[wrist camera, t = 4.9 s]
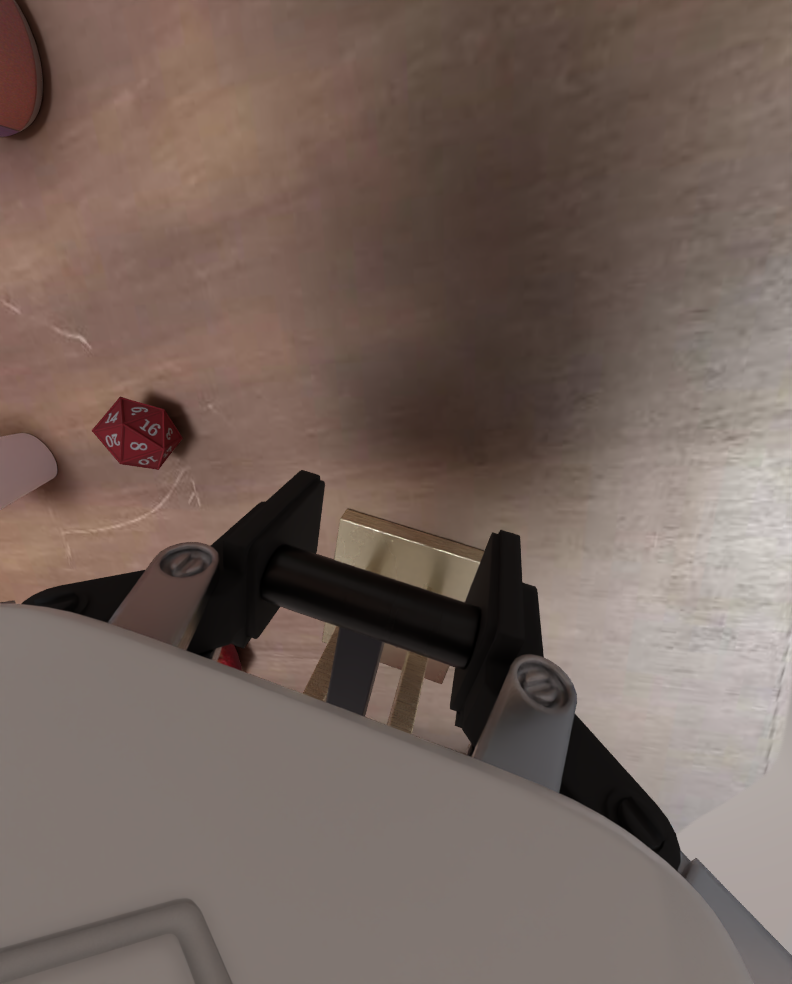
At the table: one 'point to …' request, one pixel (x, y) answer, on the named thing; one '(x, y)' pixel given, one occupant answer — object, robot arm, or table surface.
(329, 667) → the bracket
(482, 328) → the table surface
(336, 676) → the lever
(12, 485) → the smoothie
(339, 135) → the table surface
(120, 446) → the dice
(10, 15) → the beverage can
